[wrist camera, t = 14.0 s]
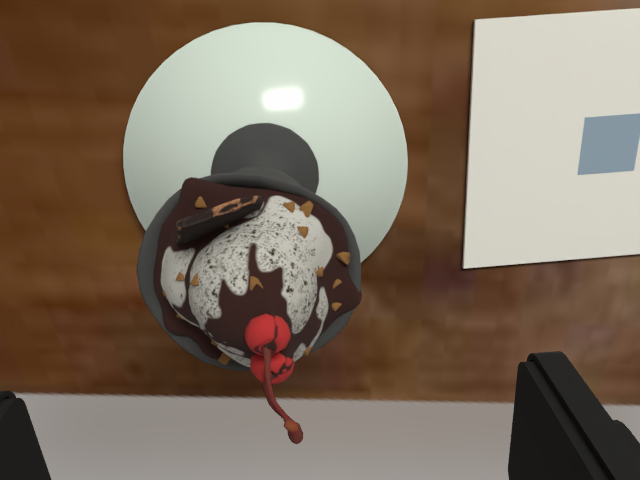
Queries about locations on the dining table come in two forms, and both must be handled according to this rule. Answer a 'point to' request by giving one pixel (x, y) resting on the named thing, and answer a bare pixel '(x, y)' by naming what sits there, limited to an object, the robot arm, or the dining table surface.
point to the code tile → (553, 138)
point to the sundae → (252, 260)
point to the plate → (270, 120)
